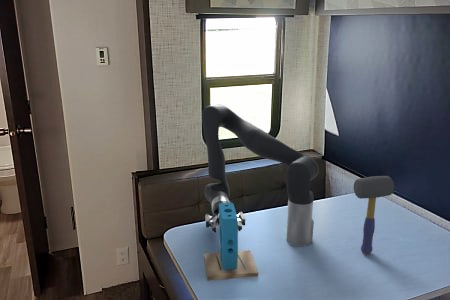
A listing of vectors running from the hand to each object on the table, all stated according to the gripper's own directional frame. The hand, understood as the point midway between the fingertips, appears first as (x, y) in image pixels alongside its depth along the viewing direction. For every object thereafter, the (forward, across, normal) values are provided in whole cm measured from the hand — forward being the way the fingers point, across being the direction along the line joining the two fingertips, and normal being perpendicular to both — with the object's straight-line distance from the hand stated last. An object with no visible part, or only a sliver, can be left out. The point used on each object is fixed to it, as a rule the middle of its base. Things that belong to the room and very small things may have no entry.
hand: (227, 229), depth 151 cm
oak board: (+3, 0, +12) cm, 13 cm away
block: (+3, 0, +11) cm, 12 cm away
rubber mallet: (+2, +51, +13) cm, 53 cm away
